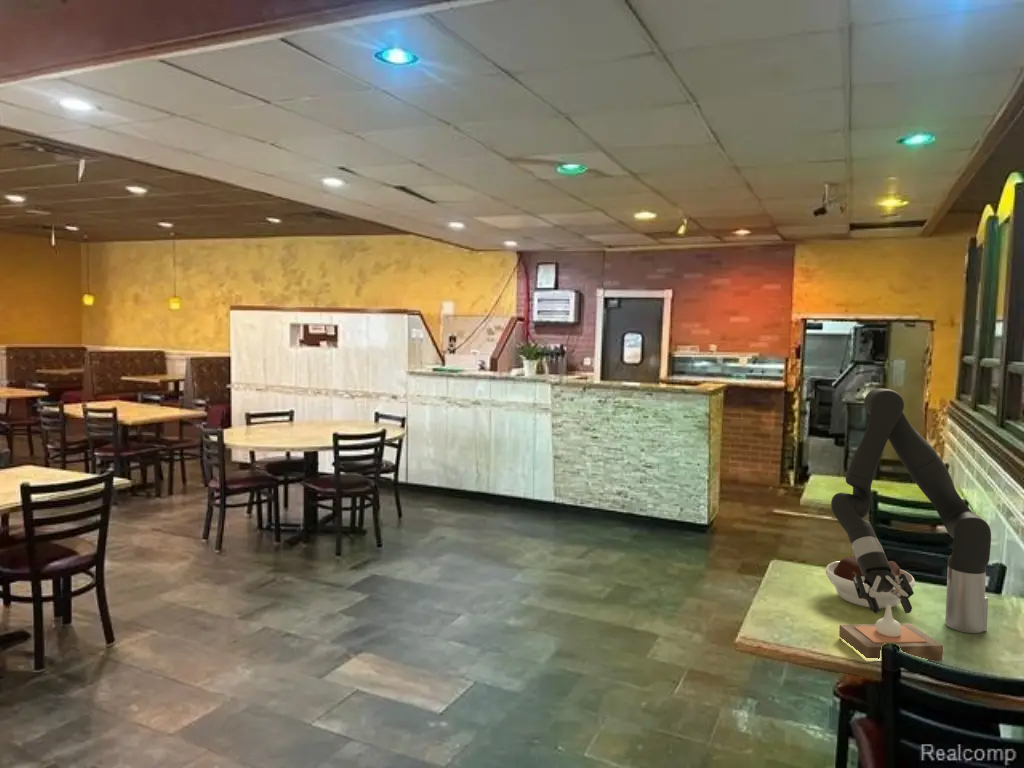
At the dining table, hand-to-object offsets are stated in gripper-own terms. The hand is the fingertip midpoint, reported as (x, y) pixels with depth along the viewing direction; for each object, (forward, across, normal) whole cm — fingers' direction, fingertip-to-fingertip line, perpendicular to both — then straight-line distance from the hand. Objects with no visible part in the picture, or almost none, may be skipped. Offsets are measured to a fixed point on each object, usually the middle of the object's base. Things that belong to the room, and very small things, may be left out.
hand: (893, 612), depth 185 cm
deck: (+7, 0, +8) cm, 11 cm away
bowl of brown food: (-16, +13, +32) cm, 38 cm away
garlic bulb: (+4, 0, +6) cm, 7 cm away
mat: (+4, 0, +6) cm, 7 cm away
